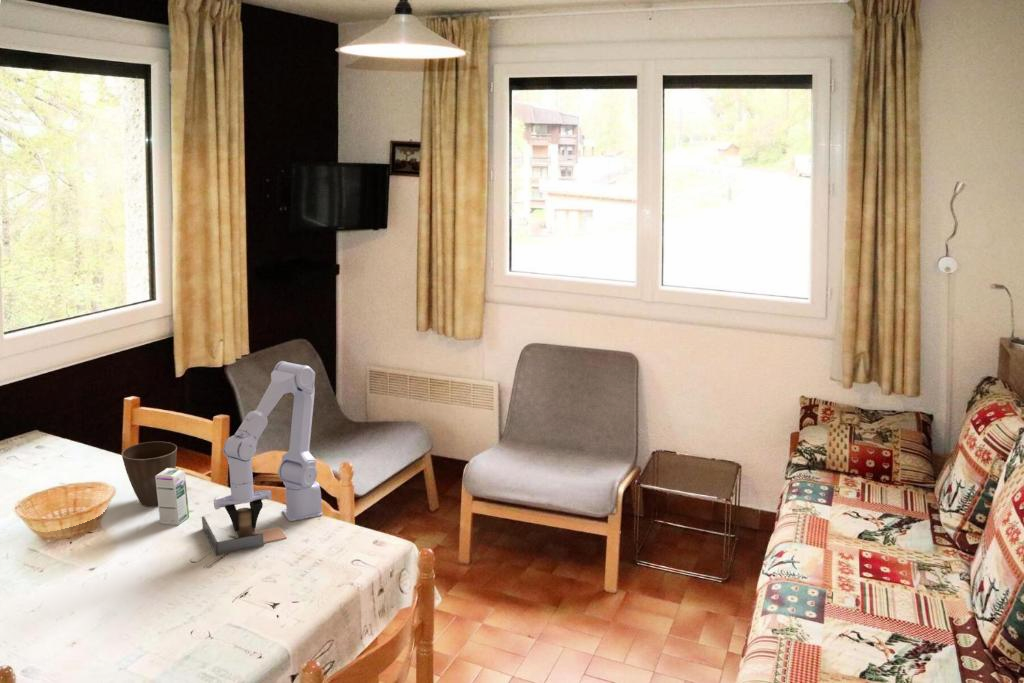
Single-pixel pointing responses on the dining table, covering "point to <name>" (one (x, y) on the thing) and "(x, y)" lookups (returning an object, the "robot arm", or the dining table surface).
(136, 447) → the plant pot
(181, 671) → the dining table surface
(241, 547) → the rail channel
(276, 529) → the coaster
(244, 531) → the walnut peg
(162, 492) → the syrup box
